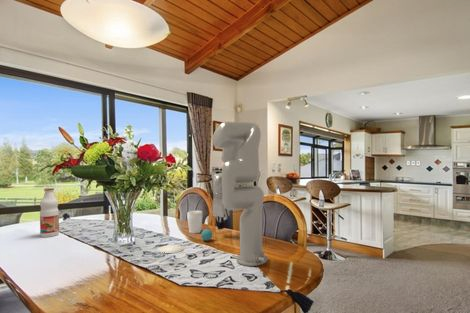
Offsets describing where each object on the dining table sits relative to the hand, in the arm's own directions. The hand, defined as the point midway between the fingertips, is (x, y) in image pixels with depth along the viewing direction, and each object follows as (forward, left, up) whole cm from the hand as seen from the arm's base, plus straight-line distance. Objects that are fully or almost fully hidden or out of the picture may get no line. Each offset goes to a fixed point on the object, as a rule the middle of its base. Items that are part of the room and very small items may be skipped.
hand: (220, 228), depth 159 cm
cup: (+19, +5, -5) cm, 21 cm away
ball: (-1, +10, -2) cm, 10 cm away
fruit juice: (+73, +72, -5) cm, 103 cm away
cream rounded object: (-1, +31, -5) cm, 31 cm away
